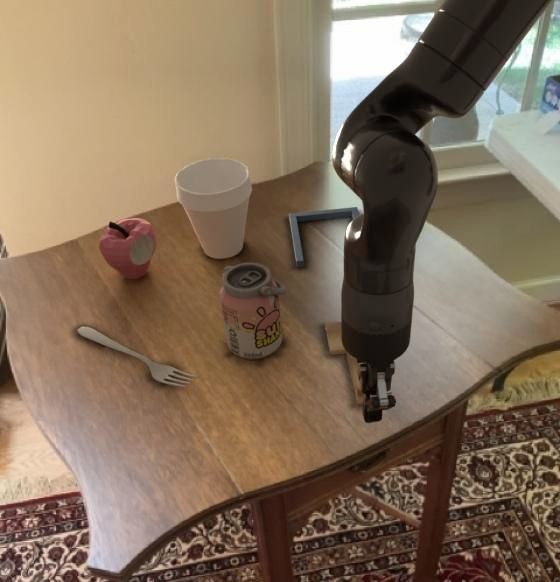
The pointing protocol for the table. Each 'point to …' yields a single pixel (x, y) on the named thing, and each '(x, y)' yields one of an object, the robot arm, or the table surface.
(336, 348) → the t-shaped block
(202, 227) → the cup
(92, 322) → the table surface
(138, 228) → the apple
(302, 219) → the u-shaped stop
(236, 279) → the beverage can
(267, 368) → the table surface
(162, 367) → the fork
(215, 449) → the table surface
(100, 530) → the table surface
